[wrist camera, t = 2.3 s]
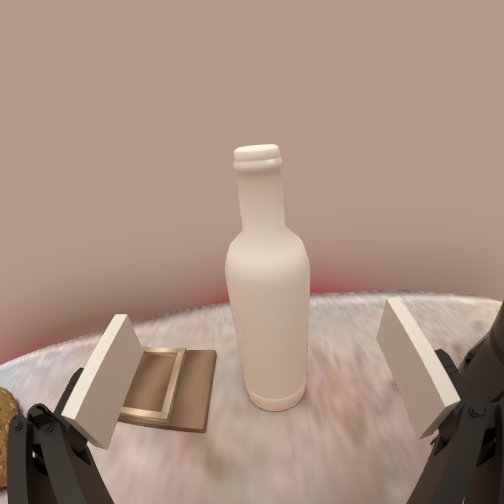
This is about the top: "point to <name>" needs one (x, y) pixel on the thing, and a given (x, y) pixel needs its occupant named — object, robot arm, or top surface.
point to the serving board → (171, 389)
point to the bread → (5, 429)
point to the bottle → (268, 284)
